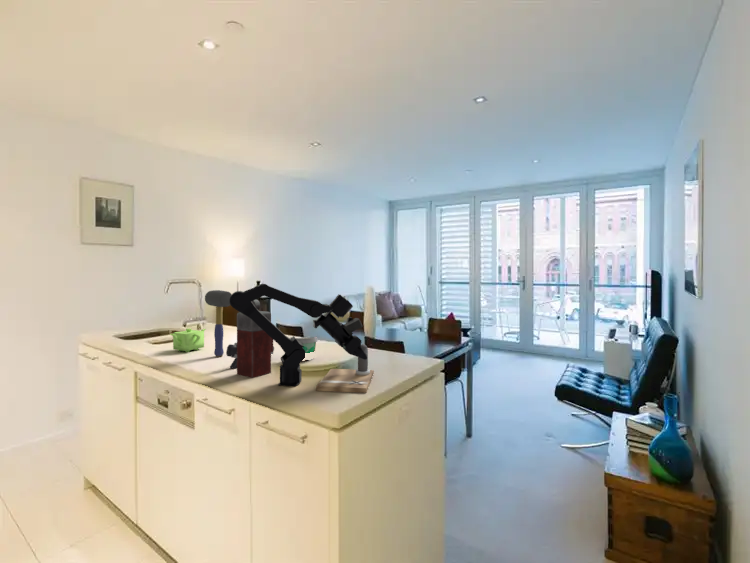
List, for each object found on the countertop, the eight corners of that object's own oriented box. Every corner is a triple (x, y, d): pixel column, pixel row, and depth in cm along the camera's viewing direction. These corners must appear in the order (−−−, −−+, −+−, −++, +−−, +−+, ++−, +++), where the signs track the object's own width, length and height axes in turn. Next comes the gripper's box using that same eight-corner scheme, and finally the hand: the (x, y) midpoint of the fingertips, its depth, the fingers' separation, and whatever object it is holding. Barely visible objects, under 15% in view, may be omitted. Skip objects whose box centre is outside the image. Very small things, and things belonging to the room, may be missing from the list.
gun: (221, 367, 152) (226, 341, 153) (267, 368, 173) (271, 345, 175) (226, 368, 150) (231, 342, 152) (271, 369, 172) (275, 346, 174)
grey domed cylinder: (354, 375, 141) (354, 345, 140) (356, 371, 146) (357, 342, 145) (368, 375, 140) (369, 345, 140) (370, 372, 145) (370, 343, 145)
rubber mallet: (234, 356, 176) (234, 290, 175) (219, 359, 169) (219, 291, 169) (218, 353, 183) (218, 289, 182) (203, 356, 177) (203, 290, 176)
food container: (290, 362, 166) (290, 339, 165) (289, 359, 171) (289, 336, 171) (319, 361, 169) (319, 338, 169) (317, 358, 175) (317, 335, 175)
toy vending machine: (275, 371, 151) (276, 299, 150) (252, 377, 141) (252, 300, 141) (260, 368, 156) (260, 298, 155) (236, 374, 146) (236, 299, 146)
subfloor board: (316, 390, 127) (316, 385, 127) (331, 372, 150) (331, 368, 150) (366, 392, 125) (366, 387, 125) (373, 374, 148) (373, 369, 148)
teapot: (169, 354, 180) (169, 331, 180) (172, 349, 192) (172, 327, 192) (205, 352, 186) (205, 329, 185) (206, 346, 198) (206, 326, 198)
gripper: (355, 313, 132) (386, 344, 135) (343, 308, 150) (370, 335, 153) (332, 338, 130) (364, 368, 133) (322, 329, 148) (351, 357, 151)
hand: (363, 356), depth 143 cm, fingers open, 9 cm apart
